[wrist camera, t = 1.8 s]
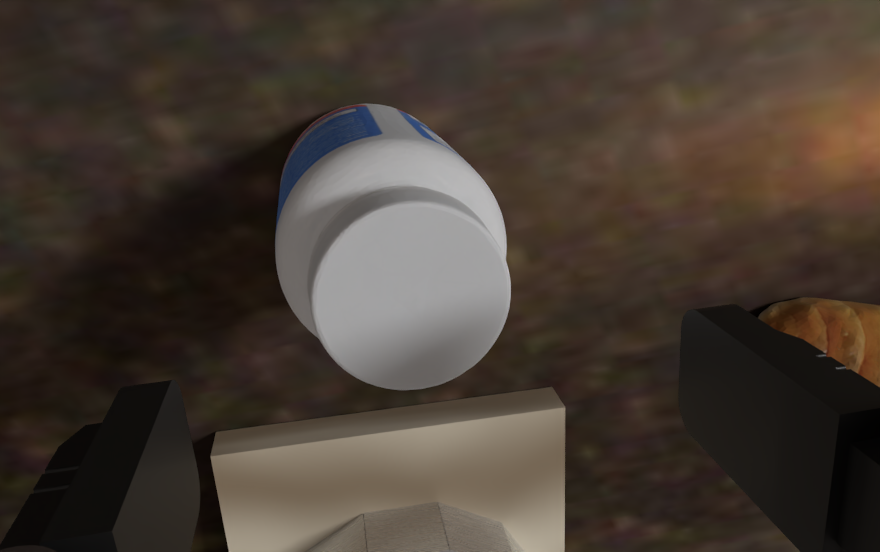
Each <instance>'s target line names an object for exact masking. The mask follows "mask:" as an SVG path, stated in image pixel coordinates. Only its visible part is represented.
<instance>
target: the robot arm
mask: <svg viewBox="0 0 880 552" xmlns="http://www.w3.org/2000/svg"><path fill="white" fill-rule="evenodd" d="M679 407H680V412H681V416H682V419H683V422H684V424H685V426H686V428H687V430H688V432H689V433H690V434H691V436H692V437H693V438H694V439H695V440H696V441H697V442H698V443H699V444H700V445H701V446H702V447H703V449H704V450H705V451H706V452H707V453H708V454H709V455H710V456H711V457H712V458H713V459H714V460H715V461H716V462H717V463H718V464H719V466H720V467H721V468H722V469H723V470H724V471H725V472H726V473H727V474H728V475H729V476H730V477H731V478H732V479H733V480H734V481H735V483H736V484H737V485H738V486H739V487H740V488H741V489H742V490H743V491H744V492H745V493H746V494H747V495H748V496H749V497H750V498H751V500H752V501H753V502H754V503H755V504H756V505H757V506H758V507H759V508H760V509H761V510H762V511H763V512H764V513H765V514H766V515H767V517H768V518H769V519H770V520H771V521H772V522H773V523H774V524H775V525H776V526H777V527H778V528H779V529H780V530H781V531H782V532H783V534H784V535H785V536H786V537H787V538H788V539H789V540H790V541H791V542H792V543H793V544H794V545H795V546H796V547H797V548H798V549H799V551H800V552H880V387H878V386H877V385H875V384H874V383H872V382H871V381H869V380H867V379H866V378H864V377H863V376H861V375H859V374H858V373H856V372H855V371H853V370H851V369H846V366H845V365H843V364H842V363H840V362H839V361H837V360H835V359H834V358H832V357H827V356H826V353H824V352H823V351H821V350H820V349H818V348H816V347H815V346H813V345H812V344H810V343H808V342H807V341H805V340H804V339H801V338H798V337H796V336H793V335H790V334H787V333H784V332H781V331H778V330H776V329H774V328H772V327H771V326H769V325H768V324H766V323H765V322H763V321H762V320H760V319H758V318H757V317H755V316H754V315H752V314H751V313H749V312H748V311H746V310H744V309H743V308H741V307H740V306H738V305H736V304H729V305H722V306H715V307H707V308H700V309H693V310H689V311H687V312H686V313H685V315H684V317H683V320H682V326H681V347H680V371H679ZM199 509H200V483H199V475H198V469H197V464H196V460H195V455H194V450H193V445H192V441H191V436H190V431H189V427H188V422H187V417H186V413H185V408H184V403H183V399H182V394H181V391H180V388H179V386H178V384H177V382H176V381H175V380H170V381H163V382H156V383H148V384H141V385H134V386H126V387H122V388H121V389H120V390H119V392H118V394H117V396H116V398H115V399H114V401H113V403H112V405H111V407H110V409H109V411H108V413H107V415H106V417H105V418H104V420H103V422H102V423H97V424H91V425H85V426H84V427H83V428H82V429H80V430H79V431H78V432H77V433H75V434H74V435H73V436H72V437H70V438H69V439H68V440H67V441H65V442H64V443H63V444H62V445H60V446H59V447H58V449H57V451H56V452H55V454H54V456H53V457H52V459H51V461H50V462H49V464H48V466H47V467H46V469H45V474H42V476H41V477H40V479H39V481H38V482H37V484H36V486H35V487H34V494H30V496H29V498H28V499H27V501H26V503H25V504H24V506H23V508H22V509H21V511H20V513H19V514H18V516H17V518H16V519H15V521H14V523H13V524H12V526H11V528H10V529H9V531H8V533H7V534H6V536H5V538H4V539H3V541H2V543H1V544H0V552H190V551H191V546H192V542H193V538H194V533H195V529H196V524H197V520H198V515H199Z"/></svg>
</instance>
